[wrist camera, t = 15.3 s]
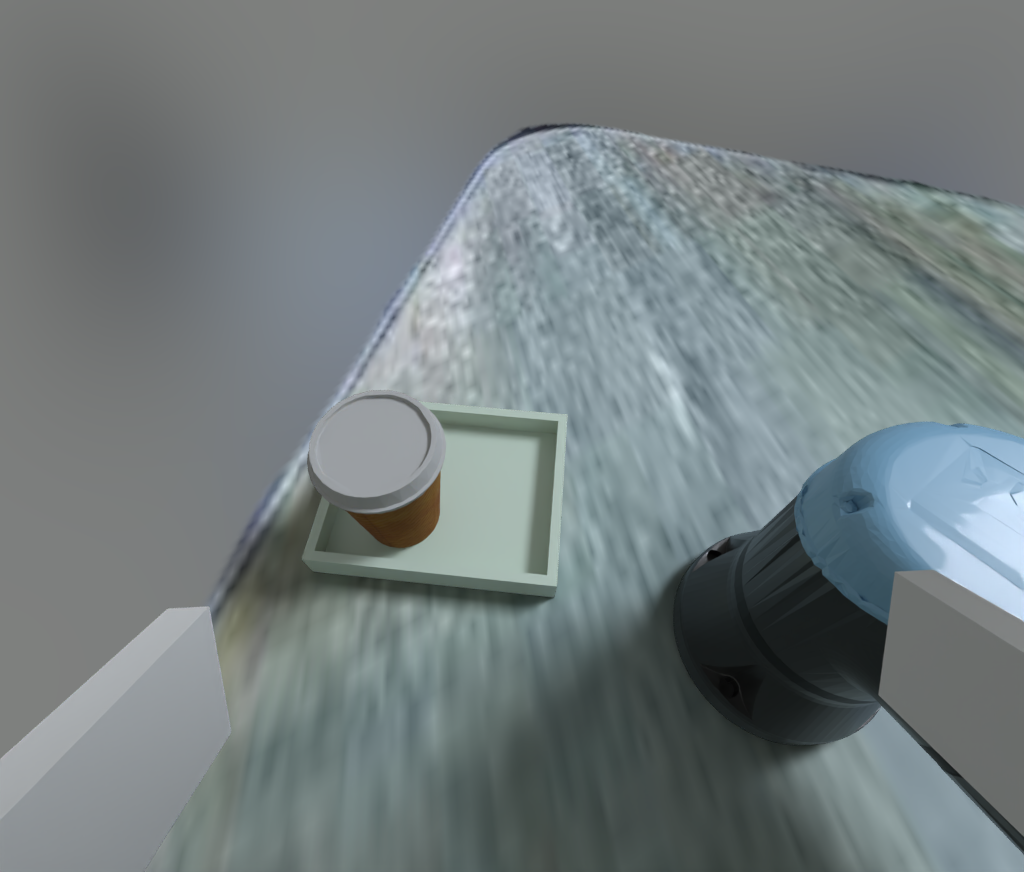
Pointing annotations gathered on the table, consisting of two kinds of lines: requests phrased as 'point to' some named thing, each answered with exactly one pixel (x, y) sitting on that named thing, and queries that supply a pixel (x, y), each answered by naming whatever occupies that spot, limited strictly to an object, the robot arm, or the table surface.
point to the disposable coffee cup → (381, 464)
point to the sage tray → (470, 510)
